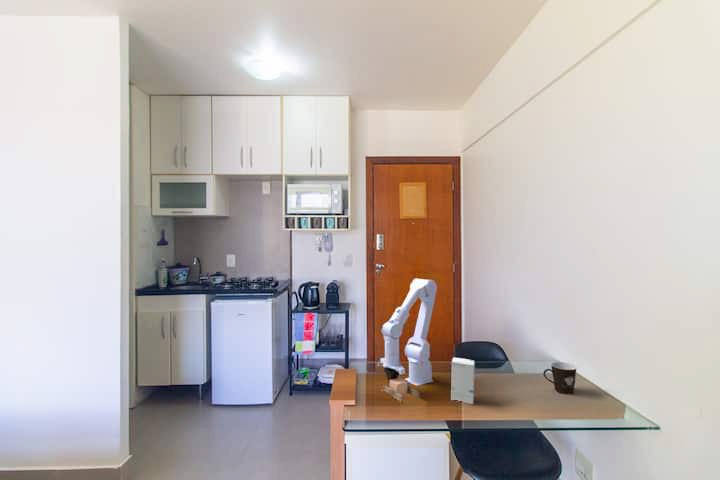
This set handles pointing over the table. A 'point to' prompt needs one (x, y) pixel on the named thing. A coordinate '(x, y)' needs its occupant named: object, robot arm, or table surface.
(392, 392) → the chute
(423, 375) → the robot arm
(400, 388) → the block
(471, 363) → the skincare box
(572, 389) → the coffee mug
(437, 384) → the table surface
